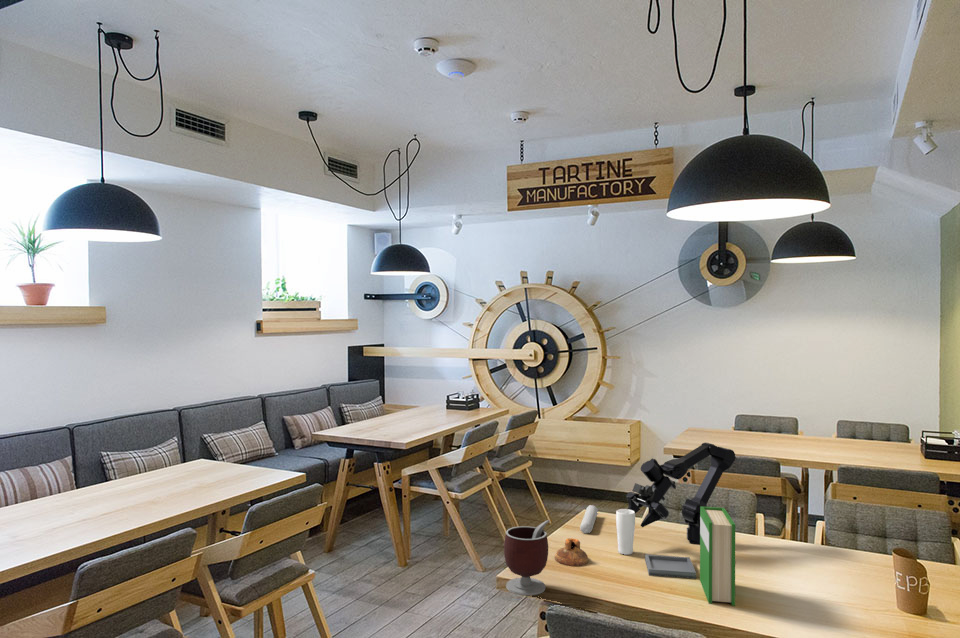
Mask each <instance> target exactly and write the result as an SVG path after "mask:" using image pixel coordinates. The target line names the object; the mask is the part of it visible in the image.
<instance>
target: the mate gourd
mask: <svg viewBox="0 0 960 638" xmlns="http://www.w3.org/2000/svg"><path fill="white" fill-rule="evenodd" d="M548 523H550V520H549V519H547V520H545V521H543V522H541V523H540V524H539V525H537V527H535V526H527V525H525V526H524V525H522V526H521V525H520V526H513V527H510V528H508V529H507V530H506V531H505V536H504V537H505V538H504V543H503V554H504V560H505V564H506V566H507V568H508V569H509V571H510V572H511V573H513V574H515V575H517V576H520V577H516V578H512V579H509V580H508V581H507V582H506V584H505V585H506V586H505V587H506V590H507V591H509V592H510V593H513V594H515V595H518V596H524V597H525V596H527V597H528V596H530V597H531V596H537V595H541V594H543V593H544V591H546V584H545V583H544V582H543V581H541V580H539V579H537V578H532V577H533V576H537V575H540V574H541V573H542V572H543V570H544V569H545V567H546V566H547V563H548V558H549V542H548V535H547V534H548V533H547V532H546V531H545V530H544V528H545V527H546V526H547V524H548Z"/></svg>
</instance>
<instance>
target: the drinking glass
mask: <svg viewBox="0 0 960 638" xmlns="http://www.w3.org/2000/svg"><path fill="white" fill-rule="evenodd" d="M615 511H616V512H615V525H616V527H615V528H616V539H617V552H618V553H619V554H620V555H623V554H624V555H625V556H630V555H632V554H633V553H634V540H635V538H634V537H635V530H636V527H635V526H636V514H635V512H634V511H633V510H629V509H628V508H620V509H616V510H615Z"/></svg>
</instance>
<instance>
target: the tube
mask: <svg viewBox="0 0 960 638" xmlns="http://www.w3.org/2000/svg"><path fill="white" fill-rule="evenodd" d="M584 512H585V513H584V515H583V517H582V521H581V523H580V525H579V526H580V527H579V529H580V531H581V532H582V533H583V534H587V533H589V534H590V533H591V532H592V531H593V528H594V525H595V522H596V519H597V517H598V514H599V508H598V507H596V506H595V505H593V504H592V505H591V504H589V505H587V507H586V509H585V511H584ZM597 512H598V513H597Z"/></svg>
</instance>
